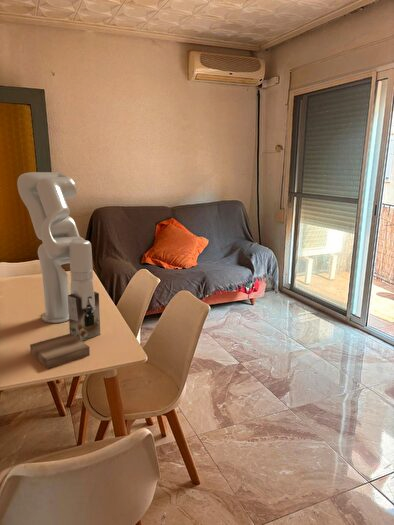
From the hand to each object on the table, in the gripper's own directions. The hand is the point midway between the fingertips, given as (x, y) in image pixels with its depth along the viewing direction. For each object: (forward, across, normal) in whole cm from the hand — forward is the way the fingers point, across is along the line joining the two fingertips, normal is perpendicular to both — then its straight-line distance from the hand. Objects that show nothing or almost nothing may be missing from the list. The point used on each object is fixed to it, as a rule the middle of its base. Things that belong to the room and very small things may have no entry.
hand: (84, 322), depth 143 cm
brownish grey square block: (+5, +8, -13) cm, 16 cm away
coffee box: (+6, 0, 0) cm, 6 cm away
